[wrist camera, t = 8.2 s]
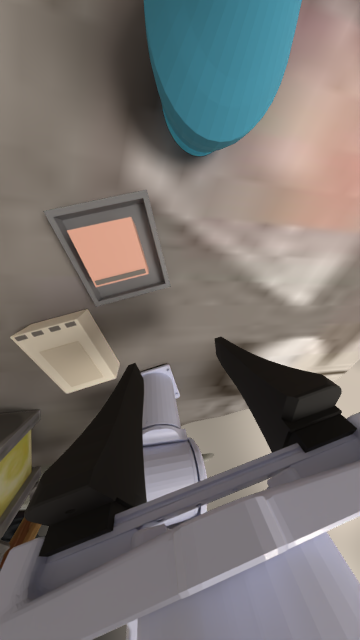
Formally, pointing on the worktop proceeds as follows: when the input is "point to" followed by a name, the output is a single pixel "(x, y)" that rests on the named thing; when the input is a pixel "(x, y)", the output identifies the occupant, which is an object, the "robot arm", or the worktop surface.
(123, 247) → the stub
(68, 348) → the block
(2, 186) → the worktop surface
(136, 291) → the tray
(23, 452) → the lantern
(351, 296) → the worktop surface
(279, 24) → the perfume bottle
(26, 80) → the worktop surface
